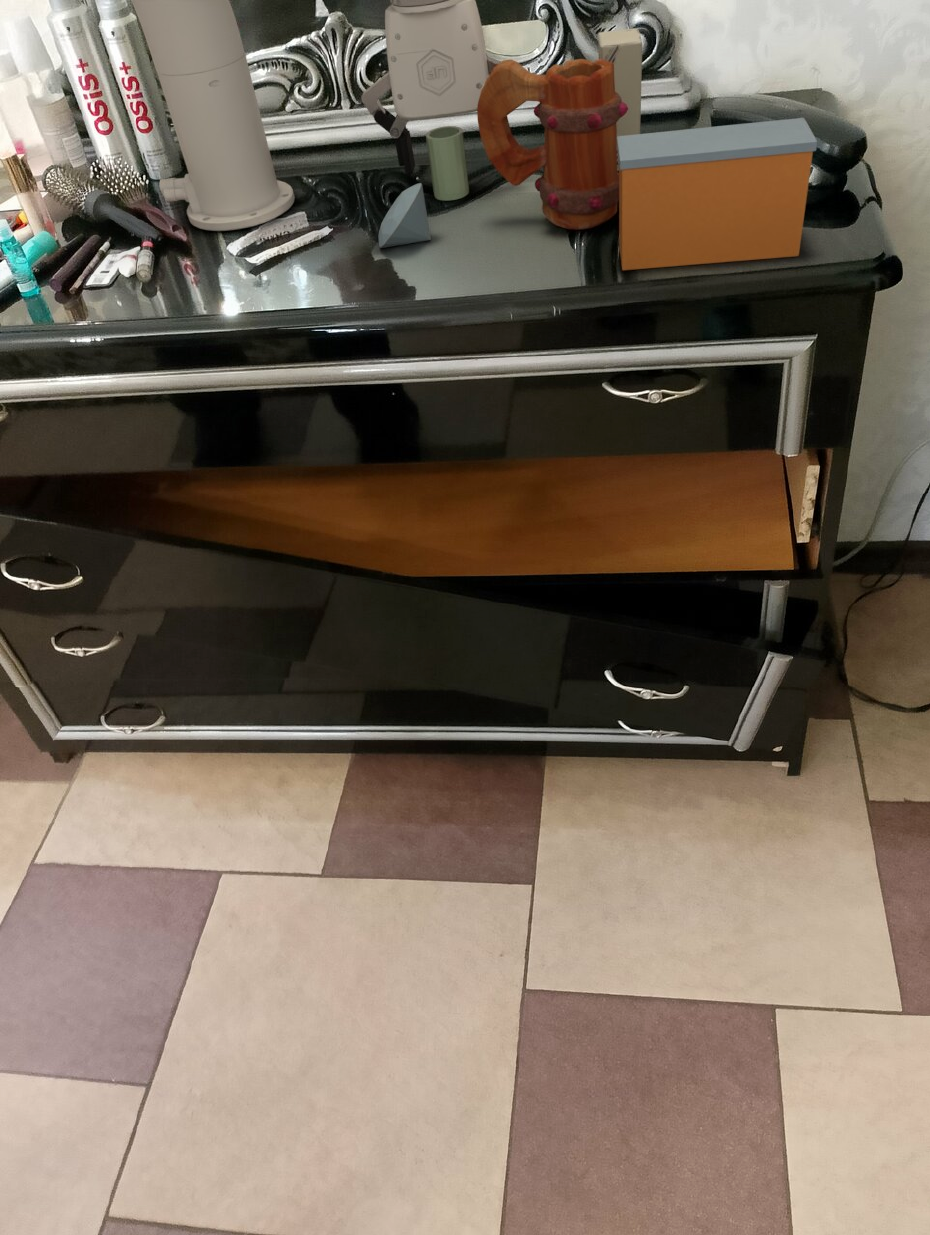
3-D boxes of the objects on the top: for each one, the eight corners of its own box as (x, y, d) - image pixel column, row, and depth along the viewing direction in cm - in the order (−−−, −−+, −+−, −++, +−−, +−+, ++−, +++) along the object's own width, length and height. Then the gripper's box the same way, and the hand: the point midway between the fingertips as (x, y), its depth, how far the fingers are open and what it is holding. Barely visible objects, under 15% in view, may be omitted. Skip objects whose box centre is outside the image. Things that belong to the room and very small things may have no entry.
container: (620, 271, 88) (619, 160, 81) (617, 244, 92) (616, 136, 85) (801, 257, 86) (817, 141, 79) (790, 229, 90) (804, 117, 83)
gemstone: (459, 194, 97) (420, 162, 95) (442, 235, 93) (401, 202, 91) (420, 243, 103) (382, 214, 101) (402, 284, 98) (363, 255, 97)
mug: (634, 203, 98) (635, 41, 88) (622, 237, 93) (621, 68, 82) (499, 205, 102) (485, 50, 92) (480, 237, 97) (463, 76, 86)
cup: (432, 202, 105) (424, 140, 100) (436, 188, 108) (427, 128, 103) (468, 198, 105) (461, 137, 100) (470, 185, 107) (463, 124, 103)
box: (598, 157, 109) (596, 31, 100) (637, 153, 108) (638, 25, 99) (601, 174, 105) (599, 44, 96) (641, 170, 104) (643, 39, 95)
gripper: (336, 7, 91) (372, 188, 103) (513, -19, 88) (530, 169, 100) (348, -11, 96) (381, 163, 108) (516, -37, 93) (531, 144, 105)
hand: (453, 166), depth 104 cm, fingers open, 9 cm apart
